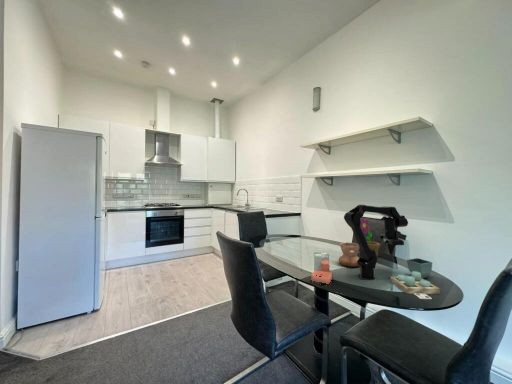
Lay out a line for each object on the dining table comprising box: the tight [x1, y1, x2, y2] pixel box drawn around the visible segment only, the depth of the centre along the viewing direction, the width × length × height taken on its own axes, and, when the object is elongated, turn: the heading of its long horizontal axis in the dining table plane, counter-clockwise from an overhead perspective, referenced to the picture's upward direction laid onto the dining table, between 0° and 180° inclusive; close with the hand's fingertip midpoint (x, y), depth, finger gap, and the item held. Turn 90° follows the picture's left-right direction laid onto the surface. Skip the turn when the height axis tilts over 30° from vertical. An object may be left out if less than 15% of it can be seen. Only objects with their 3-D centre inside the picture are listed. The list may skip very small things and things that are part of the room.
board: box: [389, 276, 441, 295], centre depth 113 cm, size 15×15×2 cm
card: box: [413, 293, 433, 300], centre depth 103 cm, size 5×5×1 cm
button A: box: [397, 274, 406, 281], centre depth 117 cm, size 4×4×4 cm
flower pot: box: [406, 257, 433, 279], centre depth 127 cm, size 9×9×9 cm
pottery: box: [310, 258, 333, 284], centre depth 128 cm, size 18×10×10 cm, turn 151°
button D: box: [420, 279, 431, 287], centre depth 109 cm, size 4×4×4 cm
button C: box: [410, 271, 421, 282], centre depth 116 cm, size 4×4×4 cm
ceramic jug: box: [338, 241, 360, 268], centre depth 151 cm, size 18×14×14 cm
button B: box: [404, 275, 415, 287], centre depth 110 cm, size 4×4×4 cm
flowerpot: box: [360, 216, 381, 258], centre depth 169 cm, size 14×14×30 cm
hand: (390, 254), depth 131 cm, fingers closed
